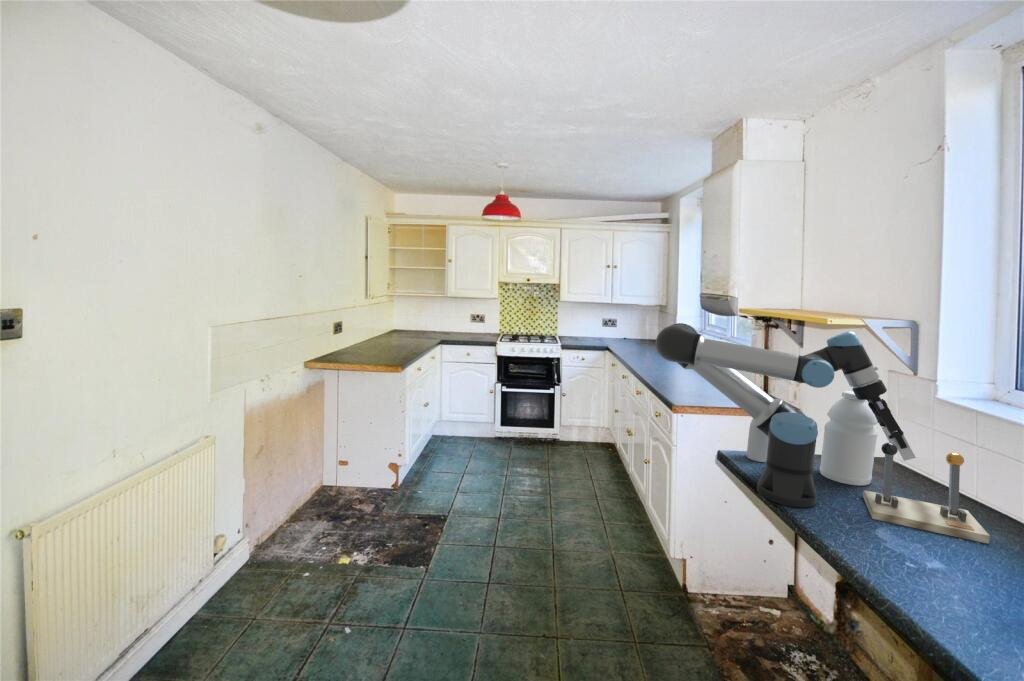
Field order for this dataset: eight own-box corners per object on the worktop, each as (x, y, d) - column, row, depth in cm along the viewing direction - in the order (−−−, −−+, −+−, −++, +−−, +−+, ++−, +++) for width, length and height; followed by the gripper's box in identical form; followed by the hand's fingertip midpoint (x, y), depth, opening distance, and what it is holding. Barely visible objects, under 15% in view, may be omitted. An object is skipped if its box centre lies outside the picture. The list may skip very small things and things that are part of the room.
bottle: (833, 467, 167) (843, 386, 163) (879, 481, 155) (891, 395, 151) (810, 473, 160) (820, 389, 156) (857, 489, 148) (868, 399, 144)
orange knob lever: (946, 513, 126) (948, 451, 129) (942, 513, 129) (944, 451, 132) (964, 517, 124) (966, 453, 127) (959, 516, 127) (961, 454, 130)
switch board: (872, 518, 129) (874, 504, 128) (862, 496, 143) (864, 483, 142) (988, 543, 118) (991, 528, 117) (966, 517, 132) (968, 503, 131)
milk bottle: (773, 464, 167) (780, 407, 165) (749, 461, 169) (755, 405, 166) (766, 456, 175) (772, 401, 172) (743, 454, 176) (749, 400, 174)
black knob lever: (879, 500, 132) (883, 441, 136) (877, 500, 136) (880, 442, 139) (896, 503, 131) (899, 443, 134) (893, 503, 134) (896, 444, 137)
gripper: (889, 383, 128) (932, 460, 124) (872, 373, 150) (908, 438, 146) (858, 393, 131) (898, 468, 128) (845, 382, 153) (880, 446, 150)
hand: (903, 452), depth 137 cm, fingers open, 13 cm apart
